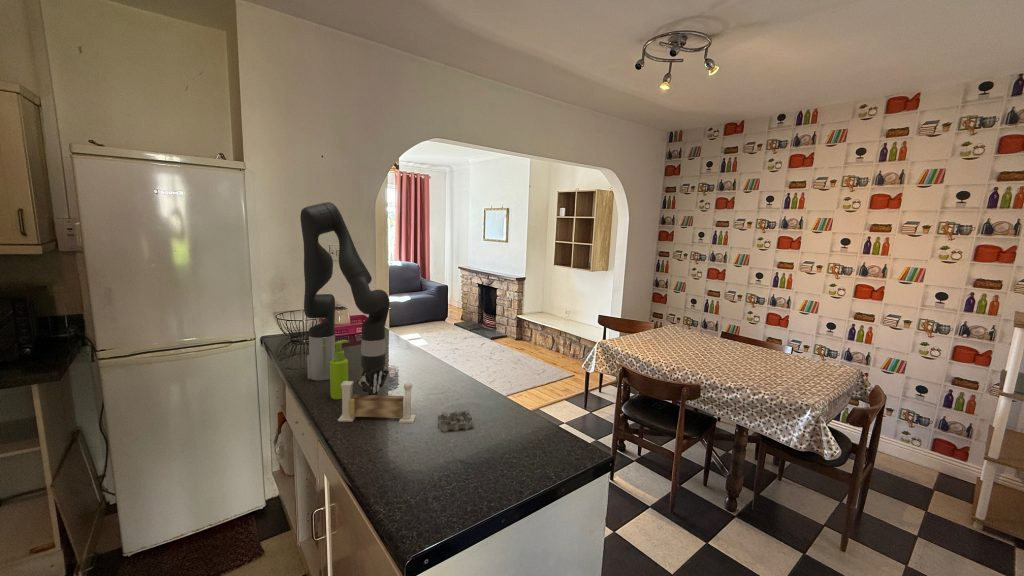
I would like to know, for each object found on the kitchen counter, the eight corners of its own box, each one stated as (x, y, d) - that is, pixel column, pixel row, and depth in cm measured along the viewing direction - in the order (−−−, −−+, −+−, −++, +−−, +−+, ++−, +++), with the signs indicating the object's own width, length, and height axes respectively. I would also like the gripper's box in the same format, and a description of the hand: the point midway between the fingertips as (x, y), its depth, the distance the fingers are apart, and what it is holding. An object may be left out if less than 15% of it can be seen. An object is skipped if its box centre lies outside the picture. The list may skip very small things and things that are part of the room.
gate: (352, 416, 127) (352, 397, 126) (354, 413, 129) (354, 394, 128) (402, 417, 128) (402, 398, 127) (403, 415, 130) (403, 395, 129)
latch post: (337, 421, 125) (337, 385, 124) (343, 414, 130) (342, 380, 128) (353, 421, 126) (353, 385, 124) (358, 415, 130) (358, 380, 128)
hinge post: (399, 422, 127) (399, 384, 125) (402, 416, 131) (402, 379, 129) (413, 423, 127) (413, 385, 125) (415, 416, 131) (416, 379, 129)
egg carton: (438, 433, 122) (438, 421, 121) (436, 421, 129) (436, 409, 128) (473, 430, 125) (473, 418, 124) (469, 419, 132) (469, 407, 131)
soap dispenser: (354, 393, 146) (353, 340, 143) (338, 400, 140) (338, 345, 137) (342, 390, 148) (341, 337, 145) (326, 396, 142) (325, 342, 139)
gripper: (368, 359, 122) (367, 413, 125) (396, 348, 134) (395, 397, 137) (348, 355, 125) (349, 407, 128) (378, 344, 137) (377, 392, 140)
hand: (373, 402), depth 132 cm, fingers closed
